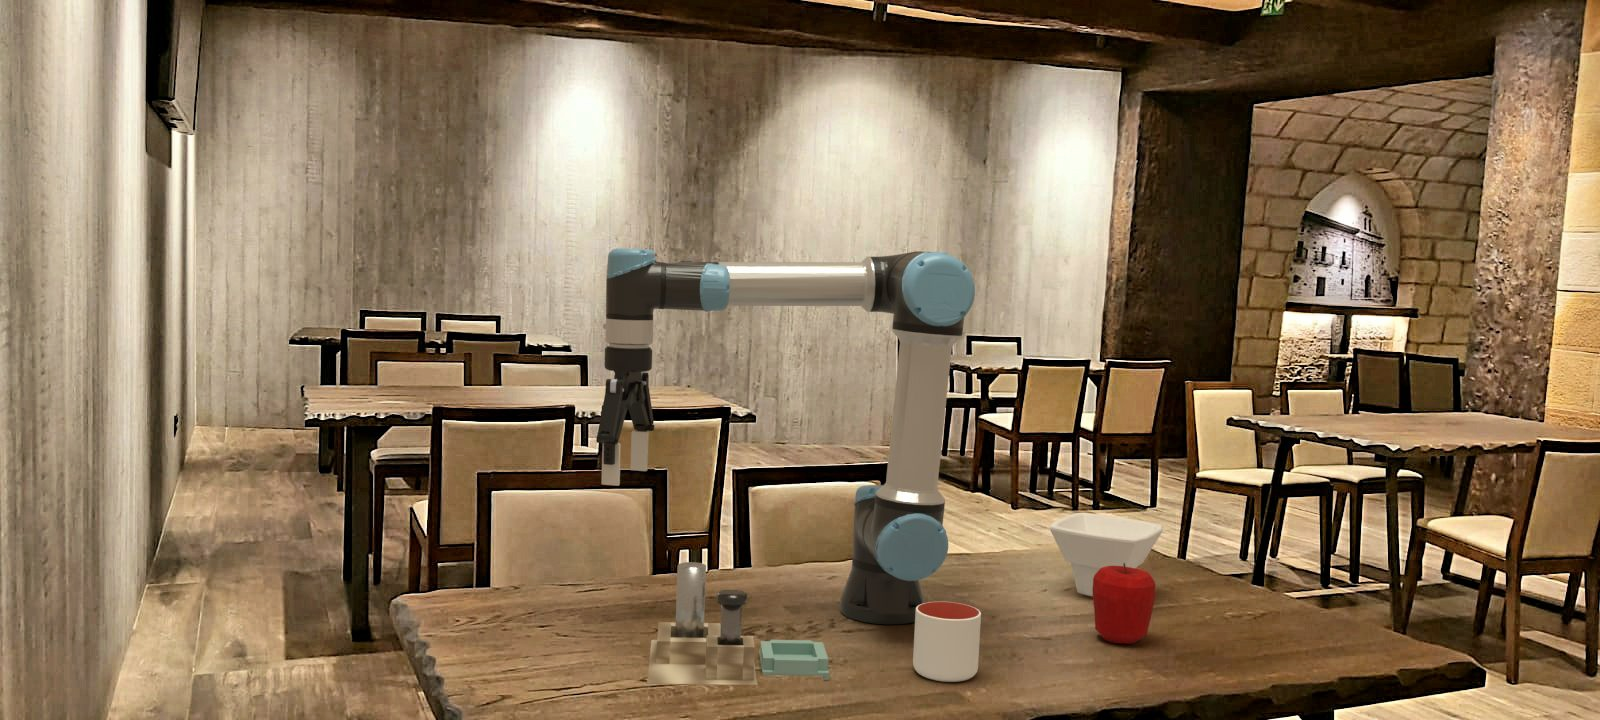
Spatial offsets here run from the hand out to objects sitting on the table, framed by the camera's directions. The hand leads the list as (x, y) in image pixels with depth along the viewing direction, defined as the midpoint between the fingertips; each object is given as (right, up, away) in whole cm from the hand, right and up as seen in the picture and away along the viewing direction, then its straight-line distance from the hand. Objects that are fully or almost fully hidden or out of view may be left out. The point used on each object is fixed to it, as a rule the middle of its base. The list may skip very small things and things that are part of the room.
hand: (625, 477), depth 206 cm
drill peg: (+11, -27, -6) cm, 30 cm away
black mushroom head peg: (+18, -25, -15) cm, 34 cm away
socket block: (+13, -28, -9) cm, 32 cm away
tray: (+27, -29, -9) cm, 40 cm away
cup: (+50, -30, -8) cm, 59 cm away
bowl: (+86, -27, +41) cm, 99 cm away
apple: (+83, -29, +13) cm, 89 cm away
